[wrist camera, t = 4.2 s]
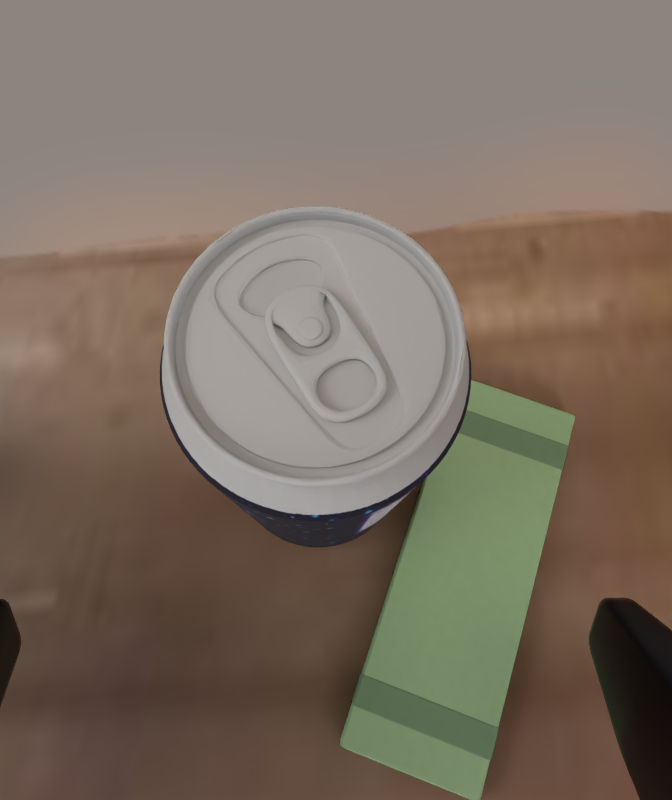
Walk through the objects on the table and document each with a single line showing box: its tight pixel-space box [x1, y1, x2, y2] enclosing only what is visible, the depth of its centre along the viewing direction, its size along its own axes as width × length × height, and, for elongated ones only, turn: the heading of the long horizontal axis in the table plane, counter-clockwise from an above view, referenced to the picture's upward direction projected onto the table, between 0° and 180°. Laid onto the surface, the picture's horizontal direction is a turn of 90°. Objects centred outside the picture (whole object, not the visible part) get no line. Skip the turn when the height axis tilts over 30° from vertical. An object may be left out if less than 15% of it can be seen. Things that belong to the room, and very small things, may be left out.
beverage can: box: [160, 206, 471, 547], centre depth 15 cm, size 6×6×12 cm
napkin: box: [340, 380, 575, 800], centre depth 19 cm, size 4×13×1 cm, turn 160°
